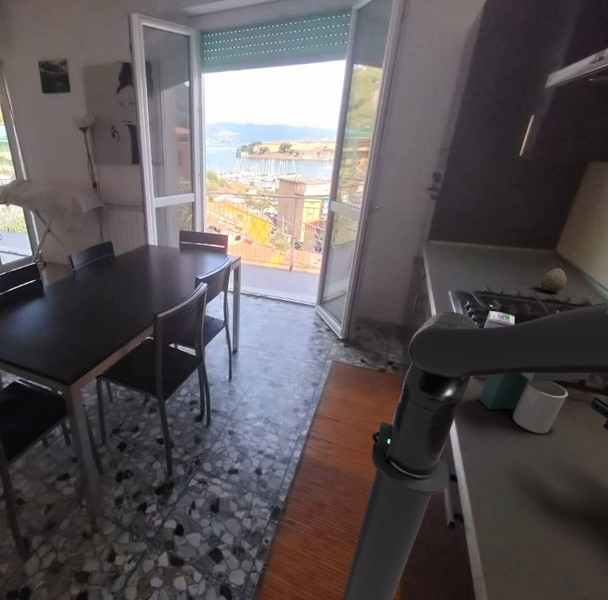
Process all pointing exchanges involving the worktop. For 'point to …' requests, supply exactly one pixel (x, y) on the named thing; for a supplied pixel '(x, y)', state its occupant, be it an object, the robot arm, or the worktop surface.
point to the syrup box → (499, 320)
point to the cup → (539, 405)
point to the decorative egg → (553, 280)
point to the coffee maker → (517, 387)
